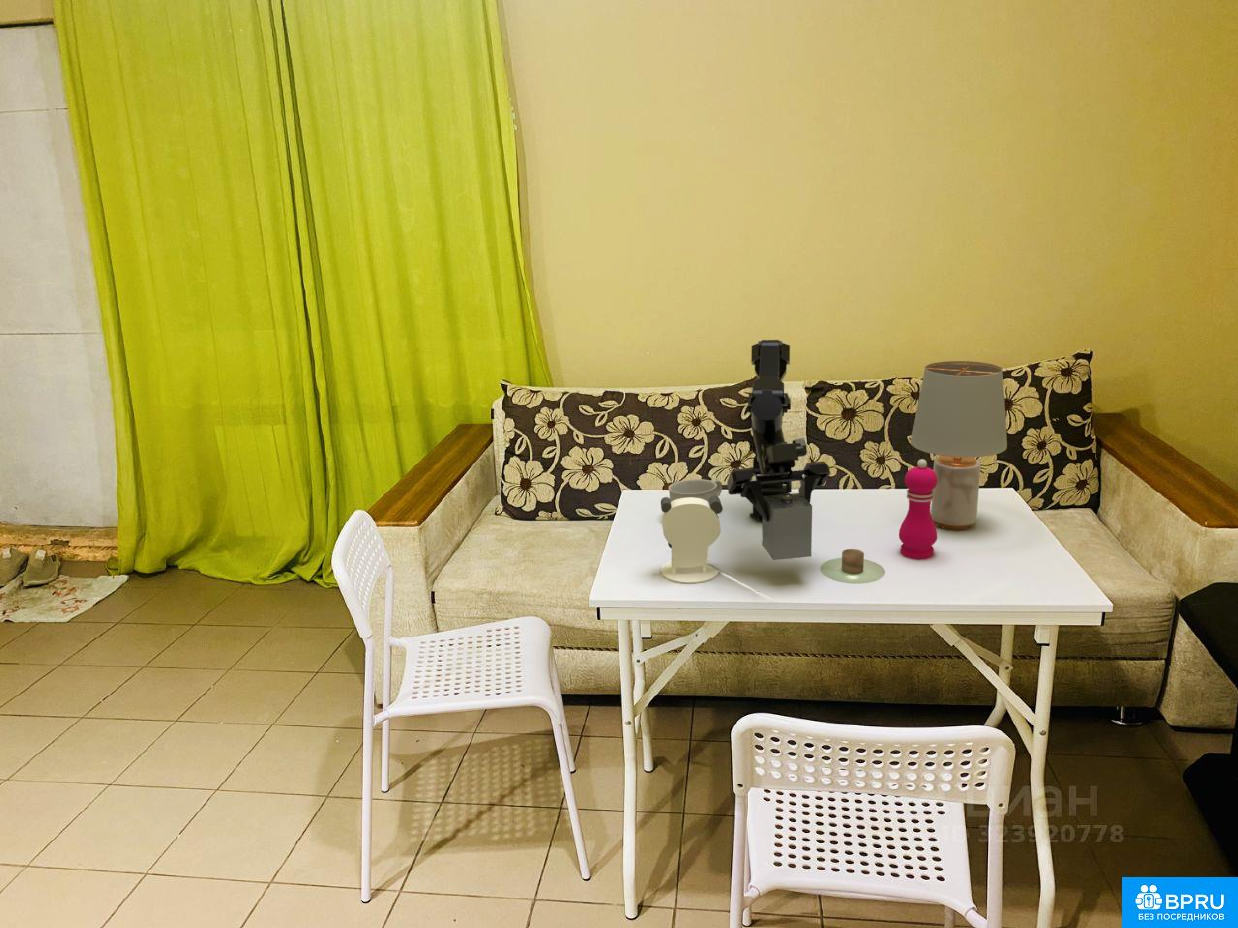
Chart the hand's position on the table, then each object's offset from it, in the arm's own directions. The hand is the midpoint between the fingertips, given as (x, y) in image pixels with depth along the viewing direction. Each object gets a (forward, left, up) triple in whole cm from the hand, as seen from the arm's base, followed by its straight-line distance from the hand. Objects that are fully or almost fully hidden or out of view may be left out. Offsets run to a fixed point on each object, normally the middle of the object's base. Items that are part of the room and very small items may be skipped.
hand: (787, 518), depth 172 cm
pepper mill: (-28, +7, -13) cm, 31 cm away
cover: (0, 0, -7) cm, 7 cm away
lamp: (-47, 0, -13) cm, 49 cm away
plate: (-12, +5, -12) cm, 18 cm away
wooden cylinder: (-12, +5, -12) cm, 18 cm away
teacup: (-7, -37, -13) cm, 40 cm away
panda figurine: (+12, -14, -13) cm, 23 cm away
